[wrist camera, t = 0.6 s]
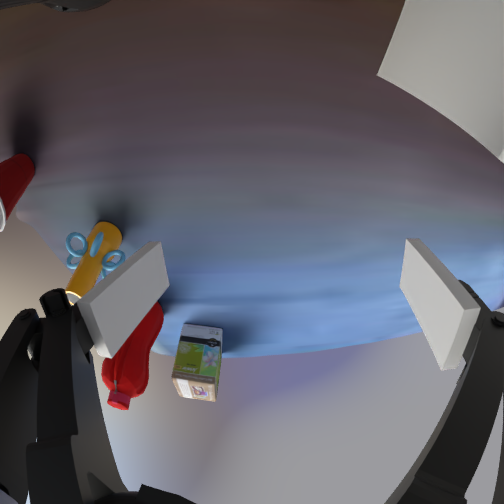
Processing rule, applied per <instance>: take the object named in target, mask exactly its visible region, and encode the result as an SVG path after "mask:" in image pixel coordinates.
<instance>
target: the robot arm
mask: <svg viewBox="0 0 504 504" xmlns="http://www.w3.org/2000/svg"><path fill="white" fill-rule="evenodd" d="M109 1H110V0H0V9H5V8H10V7H15V6H20V5H26V4H32V3H41V4H43V5H46V6H48V7H50V8H53V9H55V10H57V11H61V12H80V11H87V10H91V9H94V8H97V7H99V6H102V5H104V4H105V3H107V2H109ZM169 286H170V284H169V280H168V275H167V270H166V266H165V261H164V256H163V251H162V245H161V242H148V243H147V244H146V245H144V246H143V247H142V248H141V249H139V250H138V251H137V252H136V253H134V254H133V255H132V256H131V257H129V258H128V259H127V260H126V261H124V262H123V263H122V264H121V265H119V266H118V267H117V268H116V269H115V270H113V271H112V272H111V273H110V274H108V275H107V276H106V277H105V278H104V279H103V280H101V281H100V282H99V283H98V284H97V285H95V286H94V287H93V288H92V289H91V290H90V291H88V292H87V293H86V294H85V295H84V296H83V297H81V298H80V299H79V300H78V301H77V302H76V303H75V304H74V305H72V306H71V305H70V302H69V300H68V297H67V294H66V291H65V289H62V288H57V289H53V290H51V291H48V292H47V293H45V294H43V295H42V296H41V297H40V299H39V300H40V303H41V305H42V308H43V310H44V312H45V315H46V318H39V316H38V314H37V312H36V310H35V309H33V308H32V309H25V310H22V311H21V312H20V313H19V314H17V316H16V317H15V318H14V320H13V321H12V323H11V324H10V326H9V327H8V329H7V331H6V332H5V334H4V336H3V337H2V339H1V341H0V504H26V500H27V496H28V490H29V497H30V504H196V503H194V502H192V501H189V500H187V499H186V498H184V497H181V496H179V495H176V494H173V493H169V492H166V491H162V490H159V489H155V488H152V487H149V486H146V485H143V484H142V485H141V487H140V490H139V492H136V491H135V492H134V491H128V490H127V488H126V487H125V485H124V484H123V482H122V480H121V478H120V475H119V472H118V470H117V466H116V463H115V460H114V456H113V453H112V449H111V446H110V442H109V438H108V434H107V430H106V426H105V422H104V418H103V414H102V409H101V404H100V399H99V394H98V388H97V383H96V377H95V370H94V364H93V356H92V354H91V352H90V349H91V348H92V347H93V345H94V346H95V348H96V351H97V353H98V355H99V356H103V357H107V358H113V356H114V355H115V354H116V353H117V351H118V350H119V349H120V347H121V346H122V345H123V343H124V342H125V341H126V340H127V338H128V337H129V336H130V334H131V333H132V332H133V331H134V329H135V328H136V327H137V325H138V324H139V323H140V322H141V320H142V319H143V318H144V317H145V315H146V314H147V313H148V312H149V310H150V309H151V308H152V307H153V305H154V304H155V303H156V302H157V300H158V299H159V298H160V297H161V295H162V294H163V293H164V292H165V290H166V289H167V288H168V287H169ZM400 288H401V290H402V292H403V293H404V295H405V297H406V299H407V301H408V303H409V305H410V306H411V308H412V310H413V312H414V314H415V316H416V318H417V320H418V322H419V324H420V326H421V328H422V330H423V332H424V334H425V336H426V338H427V340H428V342H429V345H430V347H431V349H432V351H433V353H434V355H435V358H436V360H437V362H438V364H439V367H440V369H441V371H443V370H449V369H455V368H457V367H458V365H459V363H460V361H461V359H462V356H463V357H464V359H465V361H466V365H465V367H464V369H463V371H462V373H461V375H460V377H459V379H458V381H457V386H456V388H455V390H454V392H453V395H452V397H451V399H450V401H449V403H448V405H447V407H446V409H445V411H444V413H443V415H442V417H441V419H440V421H439V422H438V424H437V426H436V428H435V430H434V432H433V433H432V435H431V437H430V439H429V440H428V442H427V444H426V445H425V447H424V449H423V450H422V452H421V453H420V455H419V457H418V458H417V460H416V461H415V463H414V464H413V466H412V467H411V469H410V470H409V472H408V473H407V474H406V476H405V477H404V479H403V480H402V482H401V483H400V484H399V486H398V487H397V488H396V490H395V491H394V492H393V493H392V495H391V496H390V497H389V498H388V500H387V501H386V503H384V504H467V500H466V499H465V498H464V495H465V492H466V490H467V488H468V486H469V484H470V482H471V480H472V477H473V476H474V474H475V471H476V469H477V467H478V465H479V462H480V460H481V457H482V455H483V452H484V450H485V447H486V445H487V442H488V439H489V437H490V434H491V431H492V428H493V425H494V421H495V418H496V415H497V412H498V408H499V405H500V401H501V397H502V393H503V401H504V314H503V313H501V312H497V311H490V309H489V308H488V307H487V306H486V304H485V303H484V302H483V301H482V300H481V298H479V296H478V295H477V294H476V293H474V290H473V289H472V288H471V287H470V286H469V285H468V284H466V283H465V282H463V281H462V280H457V279H456V278H455V276H454V275H453V274H452V273H451V272H450V271H449V270H448V269H447V268H446V266H445V265H444V264H443V263H442V262H441V261H440V260H439V259H438V258H437V257H436V256H435V255H434V254H433V253H432V251H431V250H430V249H429V248H428V247H427V246H426V245H425V244H424V243H423V242H422V241H421V240H420V239H406V244H405V253H404V260H403V267H402V274H401V280H400ZM27 349H28V351H29V352H30V354H31V356H32V358H31V360H30V359H29V356H28V351H27ZM503 406H504V402H503ZM502 433H503V434H502V445H501V455H500V463H499V471H498V476H497V482H496V487H495V492H494V497H493V501H492V504H504V407H503V432H502ZM36 439H37V442H36Z"/></svg>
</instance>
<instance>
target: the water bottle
mask: <svg viewBox="0 0 504 504" xmlns="http://www.w3.org/2000/svg"><path fill="white" fill-rule="evenodd" d="M163 320H164V314H163V311H162V307H161V305H160V304H159V303H158V301H157V302H156V303H155V304H154V305H153V307H152V308H151V309H150V310H149V312H148V313H147V314H146V315H145V317H144V318H143V319H142V320H141V322H140V323H139V324H138V325H137V327H136V328H135V329H134V331H133V332H132V333H131V334H130V336H129V337H128V338H127V340H126V341H125V342H124V343H123V345H122V346H121V347H120V349H119V350H118V351H117V353H116V354H115V355H114V356H113V358H107V357H106V358H105V360H104V361H103V364H102V373H101V375H102V379H103V382H104V383H105V385H106V386H107V387H108V389H109V390H110V393H109V398H108V401H107V403H108V404H109V405H111V406H112V407H115V408H118V409H121V410H128V408H129V404H130V399H131V398H133V397H137V396H139V395H141V394H143V393H144V391H145V389H146V386H147V384H148V379H149V353H150V349H151V347H152V346H153V344H154V342H155V340H156V338H157V336H158V334H159V332H160V330H161V328H162V324H163Z"/></svg>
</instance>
